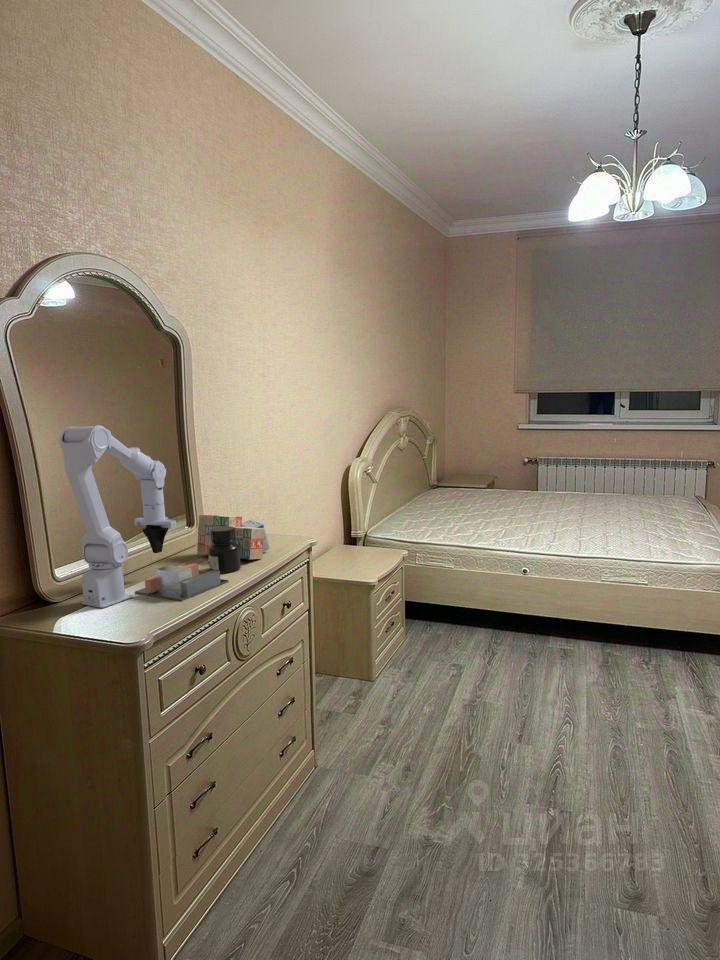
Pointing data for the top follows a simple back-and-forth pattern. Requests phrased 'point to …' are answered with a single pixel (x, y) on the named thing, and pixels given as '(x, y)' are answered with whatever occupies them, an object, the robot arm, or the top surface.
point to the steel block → (171, 579)
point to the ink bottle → (224, 550)
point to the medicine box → (257, 525)
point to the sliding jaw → (152, 582)
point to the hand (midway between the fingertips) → (157, 552)
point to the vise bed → (170, 596)
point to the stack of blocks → (244, 536)
